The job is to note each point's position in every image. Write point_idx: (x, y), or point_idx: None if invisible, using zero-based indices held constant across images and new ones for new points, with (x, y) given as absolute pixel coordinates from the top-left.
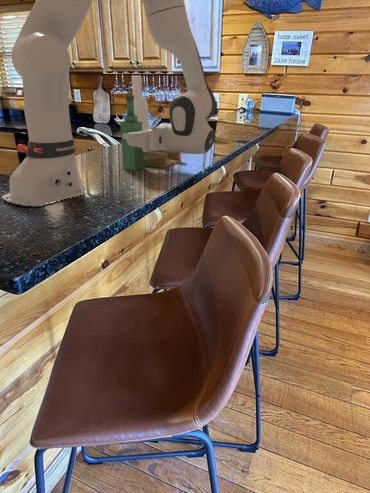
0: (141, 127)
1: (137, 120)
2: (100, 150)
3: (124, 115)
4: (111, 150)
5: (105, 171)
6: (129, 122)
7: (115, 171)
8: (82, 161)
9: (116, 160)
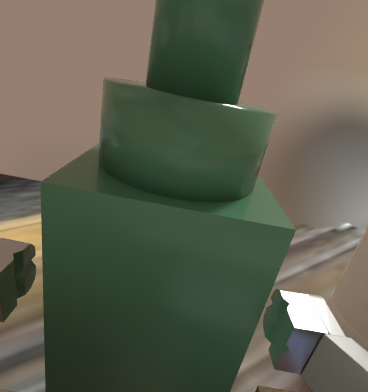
0: (253, 301)
1: (228, 188)
2: (295, 225)
3: (141, 82)
4: (320, 241)
5: (25, 333)
6: (76, 162)
7: (24, 380)
8: None
9: None
